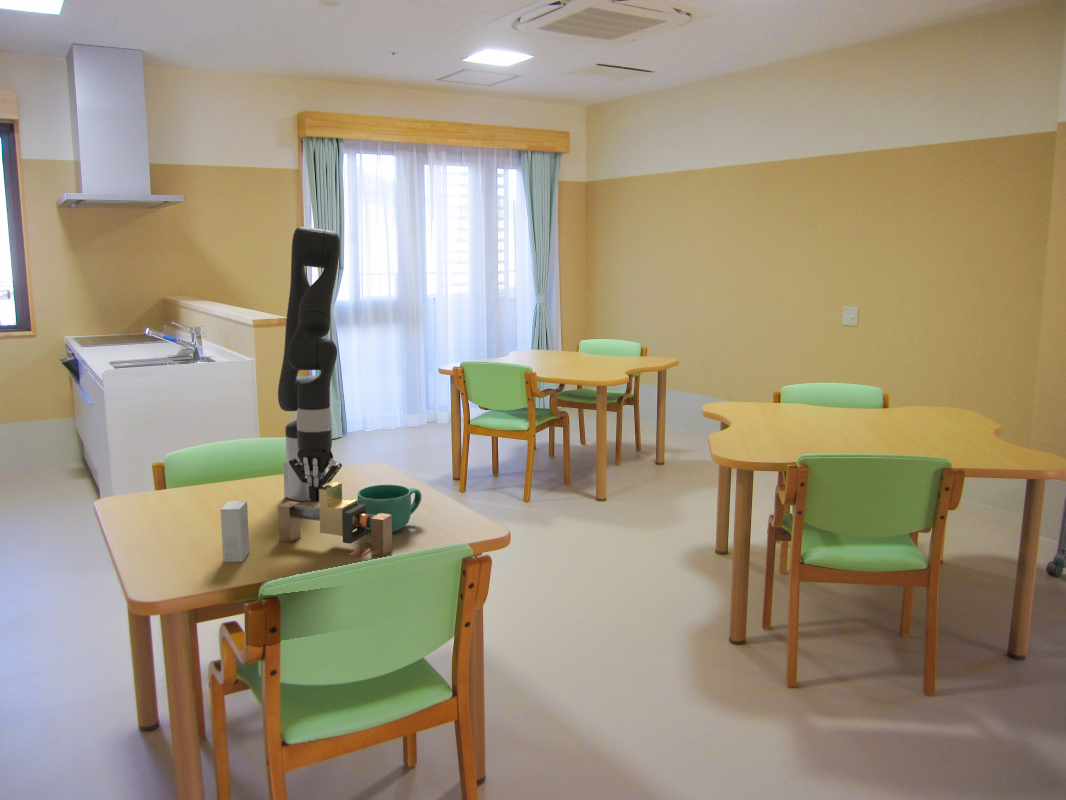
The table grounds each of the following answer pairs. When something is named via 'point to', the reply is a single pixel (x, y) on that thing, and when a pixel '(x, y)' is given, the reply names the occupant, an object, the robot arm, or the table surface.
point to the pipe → (377, 523)
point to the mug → (390, 502)
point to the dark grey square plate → (348, 524)
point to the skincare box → (235, 531)
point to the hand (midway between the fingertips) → (316, 501)
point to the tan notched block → (333, 508)
